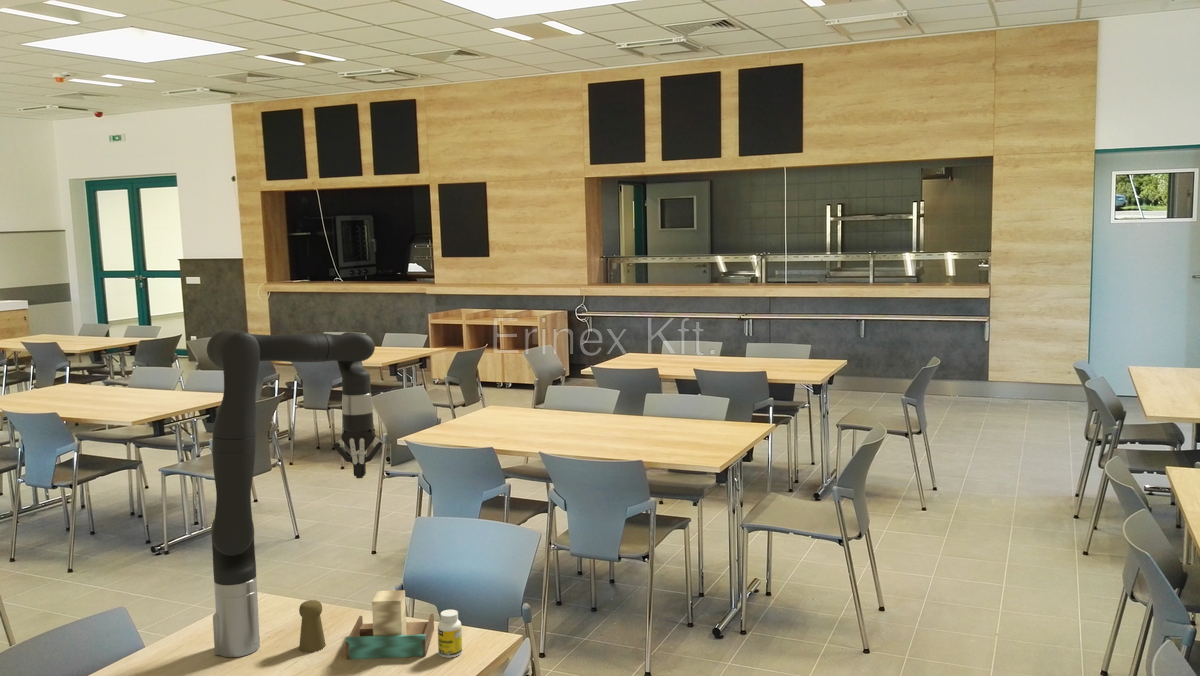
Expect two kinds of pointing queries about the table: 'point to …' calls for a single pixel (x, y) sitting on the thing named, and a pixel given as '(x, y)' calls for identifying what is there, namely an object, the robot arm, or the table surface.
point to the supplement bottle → (449, 634)
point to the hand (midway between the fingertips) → (360, 477)
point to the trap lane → (389, 641)
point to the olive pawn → (311, 627)
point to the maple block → (389, 613)
